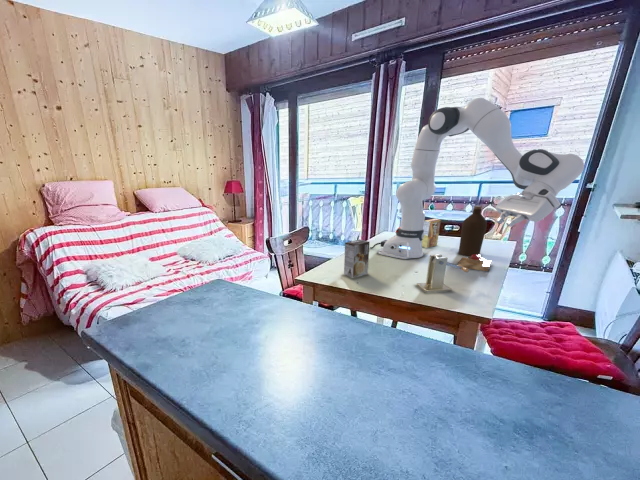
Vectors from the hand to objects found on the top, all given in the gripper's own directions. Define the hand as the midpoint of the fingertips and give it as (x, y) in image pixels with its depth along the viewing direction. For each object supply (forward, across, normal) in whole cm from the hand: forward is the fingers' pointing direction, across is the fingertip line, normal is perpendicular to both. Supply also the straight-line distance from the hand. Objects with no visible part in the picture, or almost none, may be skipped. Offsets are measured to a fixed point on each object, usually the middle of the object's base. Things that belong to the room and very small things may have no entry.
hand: (503, 223), depth 123 cm
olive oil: (+6, -42, +30) cm, 53 cm away
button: (+9, -24, +21) cm, 33 cm away
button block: (+12, -24, +24) cm, 36 cm away
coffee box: (+52, -20, -16) cm, 58 cm away
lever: (+24, 0, -1) cm, 24 cm away
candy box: (+14, -61, +22) cm, 67 cm away
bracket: (+34, 0, +2) cm, 34 cm away
